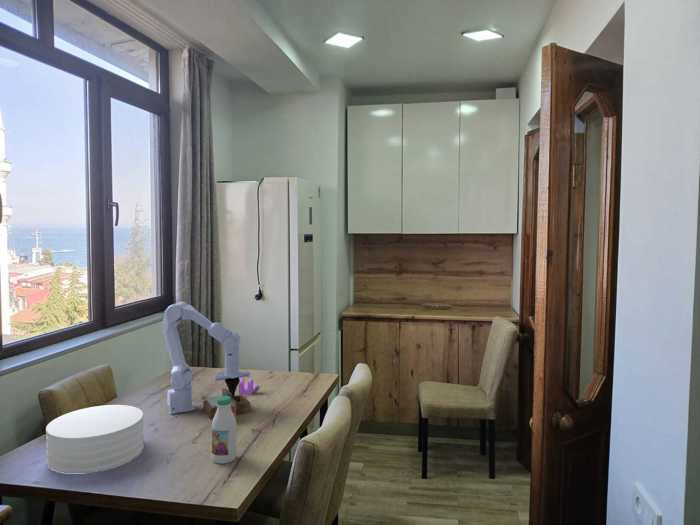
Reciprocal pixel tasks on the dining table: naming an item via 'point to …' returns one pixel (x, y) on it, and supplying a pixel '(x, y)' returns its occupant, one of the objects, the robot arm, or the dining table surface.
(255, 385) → the bracket
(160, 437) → the dining table surface
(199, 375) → the dining table surface
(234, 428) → the milk bottle
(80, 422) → the plate stack
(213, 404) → the lid
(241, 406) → the brown tray
